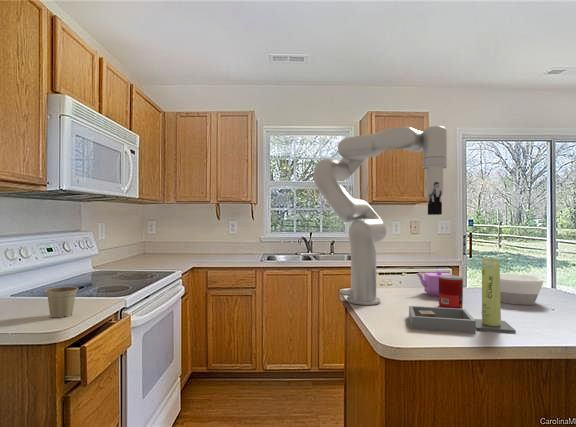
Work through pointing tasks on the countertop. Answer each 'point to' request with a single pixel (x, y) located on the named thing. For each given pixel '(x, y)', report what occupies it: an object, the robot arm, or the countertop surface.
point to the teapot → (431, 282)
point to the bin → (442, 319)
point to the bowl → (519, 289)
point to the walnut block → (426, 314)
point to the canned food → (450, 291)
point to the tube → (491, 292)
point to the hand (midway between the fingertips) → (434, 214)
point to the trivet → (494, 327)
